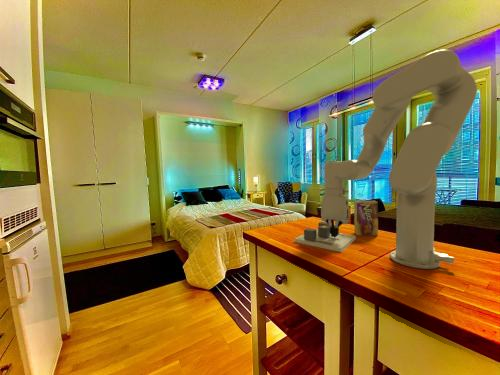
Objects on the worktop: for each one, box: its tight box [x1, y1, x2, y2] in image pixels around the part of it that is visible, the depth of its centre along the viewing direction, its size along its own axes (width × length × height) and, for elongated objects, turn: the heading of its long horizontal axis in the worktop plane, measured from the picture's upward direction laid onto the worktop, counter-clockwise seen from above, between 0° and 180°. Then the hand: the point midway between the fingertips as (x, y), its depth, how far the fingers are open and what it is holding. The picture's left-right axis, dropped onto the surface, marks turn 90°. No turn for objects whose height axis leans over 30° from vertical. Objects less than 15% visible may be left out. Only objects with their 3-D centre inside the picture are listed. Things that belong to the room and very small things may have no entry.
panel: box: [294, 228, 357, 253], centre depth 91 cm, size 19×18×2 cm
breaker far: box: [317, 221, 329, 228], centre depth 98 cm, size 4×3×4 cm
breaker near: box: [303, 227, 317, 241], centre depth 88 cm, size 4×3×4 cm
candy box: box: [353, 200, 379, 236], centre depth 97 cm, size 9×4×15 cm, turn 79°
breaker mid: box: [317, 226, 330, 238], centre depth 91 cm, size 4×3×4 cm
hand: (334, 236), depth 88 cm, fingers closed
